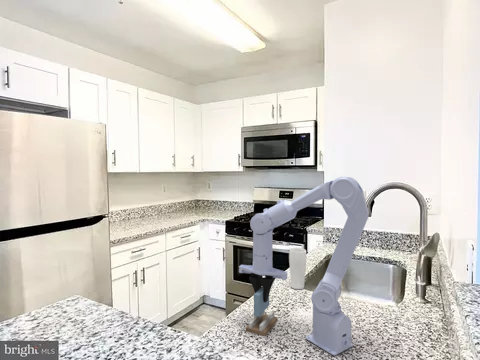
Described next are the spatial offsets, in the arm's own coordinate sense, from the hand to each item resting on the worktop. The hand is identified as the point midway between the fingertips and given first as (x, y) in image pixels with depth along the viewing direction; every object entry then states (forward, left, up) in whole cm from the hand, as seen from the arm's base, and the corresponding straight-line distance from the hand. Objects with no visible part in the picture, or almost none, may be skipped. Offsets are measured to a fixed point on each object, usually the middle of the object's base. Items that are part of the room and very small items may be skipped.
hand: (262, 300), depth 85 cm
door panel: (0, 0, -3) cm, 3 cm away
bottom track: (0, 0, -8) cm, 8 cm away
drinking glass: (+16, -31, -8) cm, 36 cm away
